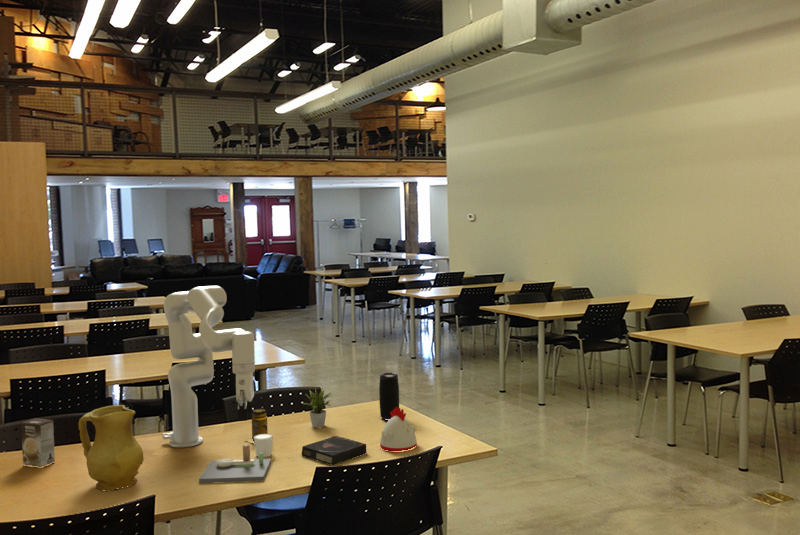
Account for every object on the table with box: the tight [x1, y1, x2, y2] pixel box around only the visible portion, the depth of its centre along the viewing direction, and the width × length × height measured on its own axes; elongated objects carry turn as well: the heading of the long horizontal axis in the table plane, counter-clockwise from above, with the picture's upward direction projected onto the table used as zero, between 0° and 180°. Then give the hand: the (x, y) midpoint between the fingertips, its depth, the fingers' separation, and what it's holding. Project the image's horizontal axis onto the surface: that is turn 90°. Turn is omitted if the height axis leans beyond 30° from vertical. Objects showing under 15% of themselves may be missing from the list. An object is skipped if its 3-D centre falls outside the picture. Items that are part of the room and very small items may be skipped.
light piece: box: [216, 443, 255, 467], centre depth 233 cm, size 13×6×6 cm, turn 93°
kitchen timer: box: [379, 407, 418, 451], centre depth 255 cm, size 14×14×15 cm
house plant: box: [302, 388, 336, 429], centre depth 283 cm, size 14×14×16 cm
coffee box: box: [20, 417, 56, 467], centre depth 242 cm, size 9×6×16 cm
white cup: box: [254, 433, 274, 458], centre depth 248 cm, size 7×7×7 cm
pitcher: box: [78, 404, 144, 491], centre depth 222 cm, size 17×19×25 cm
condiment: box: [251, 408, 269, 441], centre depth 266 cm, size 7×8×12 cm
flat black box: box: [301, 435, 367, 466], centre depth 247 cm, size 16×17×4 cm
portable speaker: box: [378, 372, 400, 420], centre depth 293 cm, size 9×9×20 cm
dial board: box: [198, 452, 272, 484], centre depth 230 cm, size 21×18×6 cm
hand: (244, 416), depth 233 cm, fingers open, 9 cm apart
